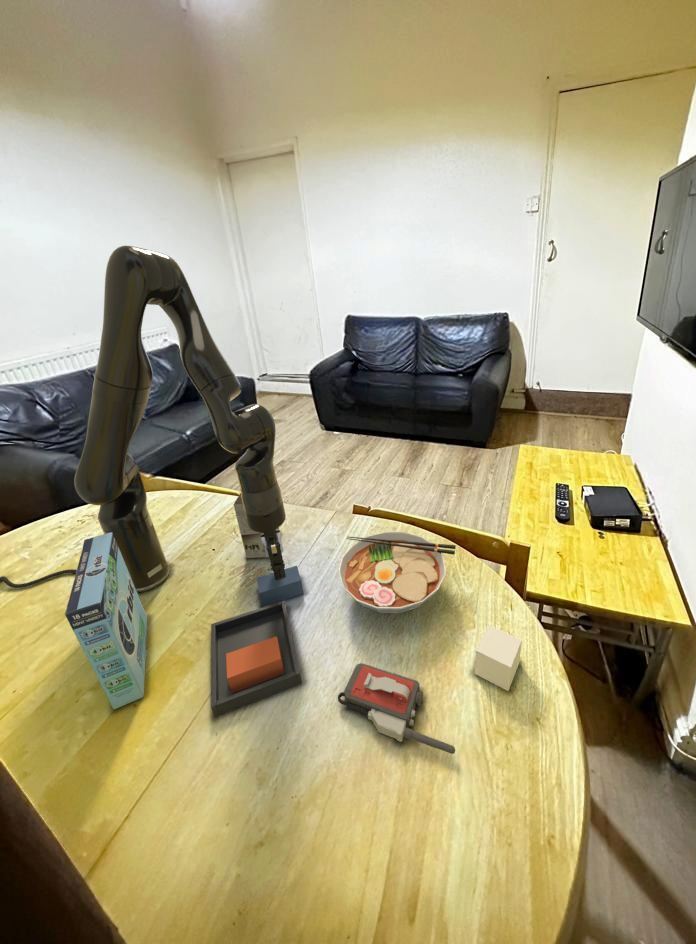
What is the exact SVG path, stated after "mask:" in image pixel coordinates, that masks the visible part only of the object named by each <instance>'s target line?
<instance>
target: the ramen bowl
mask: <svg viewBox="0 0 696 944" xmlns="http://www.w3.org/2000/svg"><path fill="white" fill-rule="evenodd" d="M345 539H346V540H351V541H357V542H355V543H353V544H352V545H351V546H349V548H348V549H347V551H346V552H345V553H344V554H343V555H342V557H341V560H340V563H339V568H338V572H337V573H338V577H339V580H340V582H341V583H340V584H341V587H342V589H343V590H344V591H345V592H346V593H347V594H348V595H349V596H350V597H352V599H353V600H355V601H356V602H357V603H358V604H359V605H361V606H362V607H364V608H367V609H370V610H372V611H375V612H378V613H380V614H402V613H404V612H407V611H411V610H414V609H417V608H419V607H420V606H421V605H423V604H424V603H426V601H428V600H429V599H430V598H431V597H433V596H434V595H435V594H436V593H437V591H439V589H440V586H441V585H442V582H443V581H444V580H445V579H444V578H445V576H446V574H447V570H446V561H445V560H446V559H445V557H444V556H443V554H446V555H453V556H454V555H455V554H456V549H457V548H456V547H457V546H456V544H446V543H445V544H444V543H433V542H432V541H429V540H428V539H427V538H425V537H423V536H421V535H418V534H415V533H411V532H407V531H381V532H378V533H374V534H370V535H367V536H366V537H359V536H358V537H357V536H347V537H346V538H345Z"/></svg>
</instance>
